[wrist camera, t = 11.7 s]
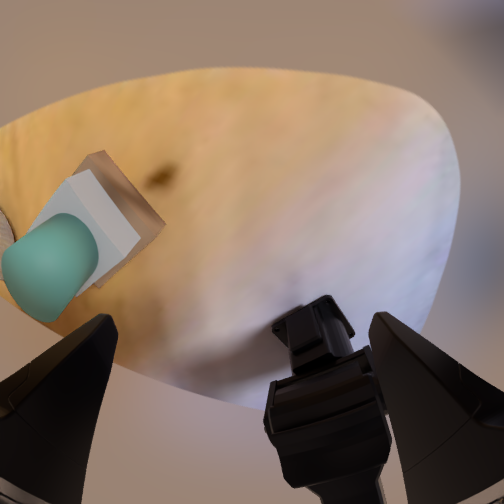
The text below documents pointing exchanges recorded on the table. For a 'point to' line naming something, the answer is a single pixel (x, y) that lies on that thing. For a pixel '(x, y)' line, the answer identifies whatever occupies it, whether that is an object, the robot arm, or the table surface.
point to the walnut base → (123, 204)
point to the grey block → (93, 220)
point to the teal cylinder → (50, 265)
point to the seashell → (4, 238)
